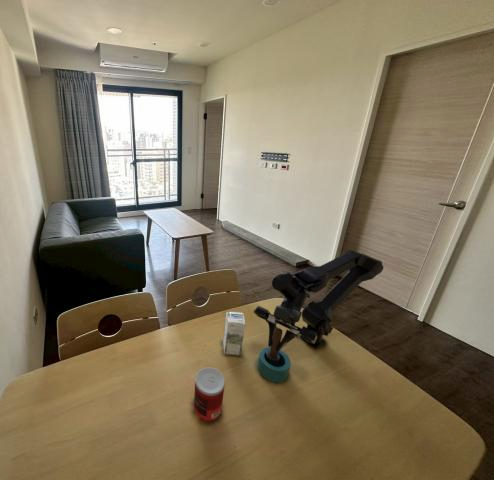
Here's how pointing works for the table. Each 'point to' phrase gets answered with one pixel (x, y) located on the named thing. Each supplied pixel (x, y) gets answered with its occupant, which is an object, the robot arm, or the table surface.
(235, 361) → the table surface
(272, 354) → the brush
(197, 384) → the canned food
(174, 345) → the table surface
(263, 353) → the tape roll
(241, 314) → the syrup box
